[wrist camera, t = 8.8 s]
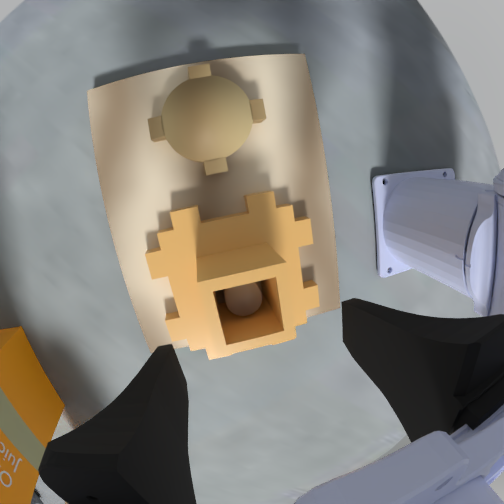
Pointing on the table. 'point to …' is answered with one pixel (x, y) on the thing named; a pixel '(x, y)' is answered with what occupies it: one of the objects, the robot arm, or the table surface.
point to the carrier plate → (210, 167)
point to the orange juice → (23, 416)
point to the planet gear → (235, 274)
